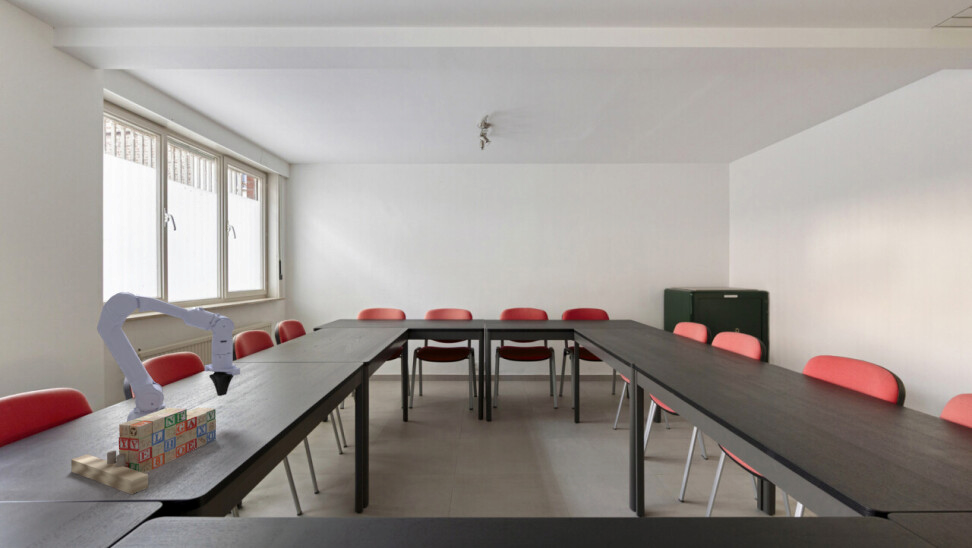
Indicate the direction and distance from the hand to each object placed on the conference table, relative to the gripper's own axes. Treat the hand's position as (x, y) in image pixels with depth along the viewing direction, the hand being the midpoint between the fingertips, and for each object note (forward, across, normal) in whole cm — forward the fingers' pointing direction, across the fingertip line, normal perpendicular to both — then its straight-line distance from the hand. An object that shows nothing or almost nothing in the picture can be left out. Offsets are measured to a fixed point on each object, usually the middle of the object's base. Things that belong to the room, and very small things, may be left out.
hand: (222, 394), depth 127 cm
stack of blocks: (+10, -10, +20) cm, 24 cm away
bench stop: (+9, -10, +33) cm, 36 cm away
